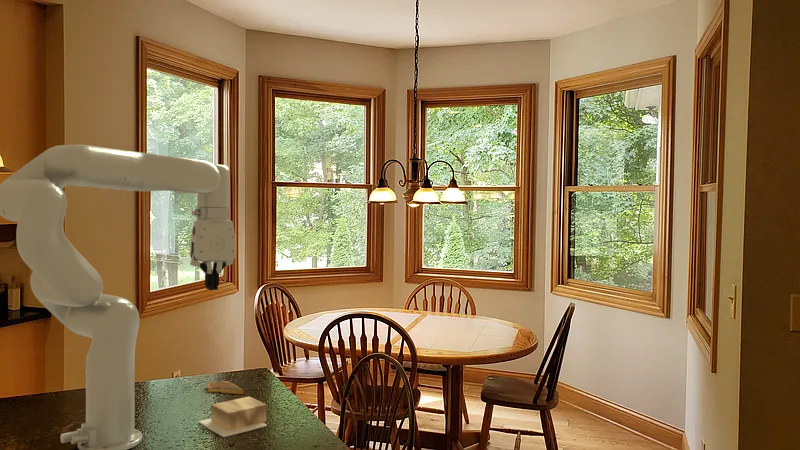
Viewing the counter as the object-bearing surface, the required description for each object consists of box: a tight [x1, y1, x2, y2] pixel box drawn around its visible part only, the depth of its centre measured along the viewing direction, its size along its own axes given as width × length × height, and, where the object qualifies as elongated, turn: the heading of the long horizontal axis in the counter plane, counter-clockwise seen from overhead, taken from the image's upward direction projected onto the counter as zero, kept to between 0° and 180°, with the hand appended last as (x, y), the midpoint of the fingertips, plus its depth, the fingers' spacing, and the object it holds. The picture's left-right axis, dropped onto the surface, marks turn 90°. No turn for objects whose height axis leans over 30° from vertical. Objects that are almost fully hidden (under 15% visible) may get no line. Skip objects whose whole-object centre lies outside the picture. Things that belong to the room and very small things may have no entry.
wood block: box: [210, 395, 268, 431], centre depth 154 cm, size 4×8×10 cm
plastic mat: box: [198, 417, 268, 438], centre depth 153 cm, size 11×12×1 cm
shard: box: [205, 380, 245, 395], centre depth 178 cm, size 11×8×2 cm
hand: (211, 289), depth 161 cm, fingers closed
